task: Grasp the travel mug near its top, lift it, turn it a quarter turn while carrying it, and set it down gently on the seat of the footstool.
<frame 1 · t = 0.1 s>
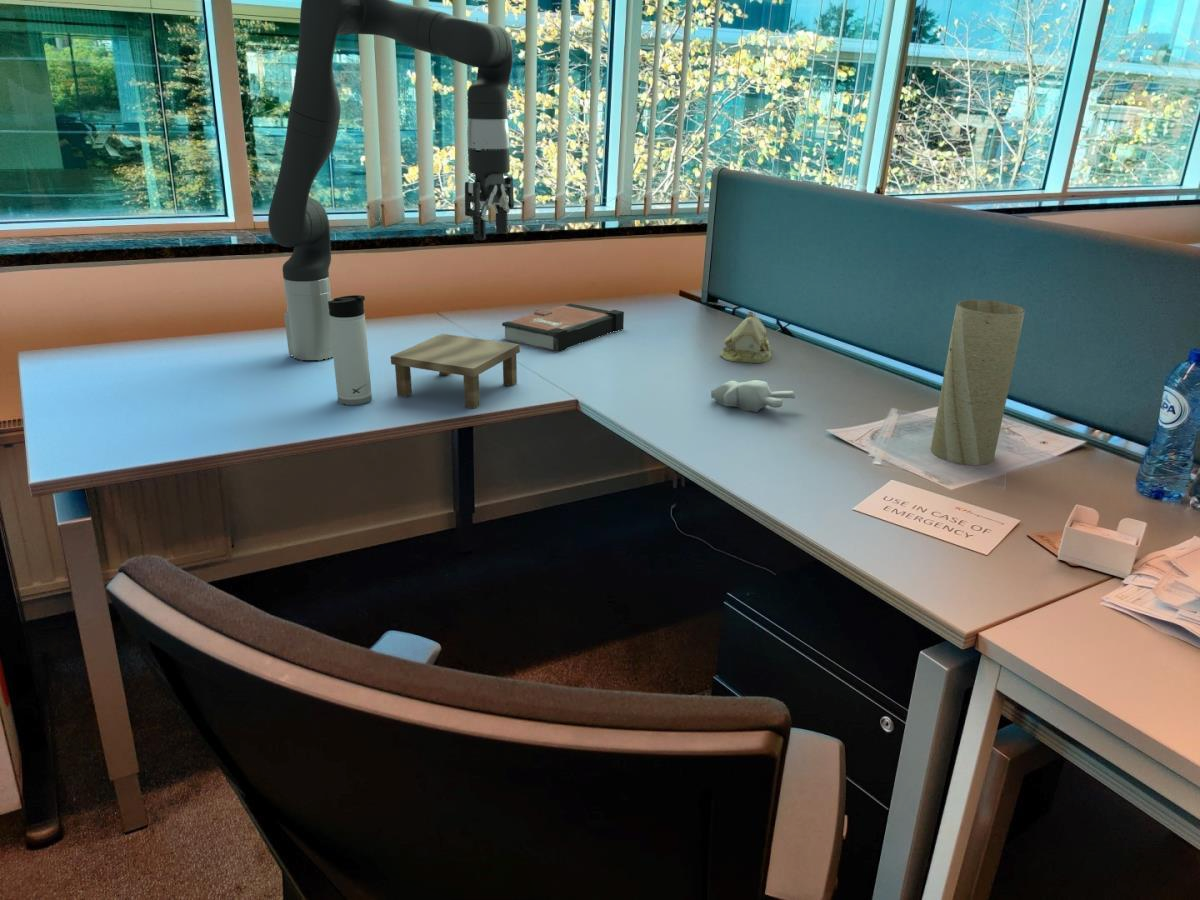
hand: (491, 236, 164), 29 cm above the table, tool pointing down, fingers open, 8 cm apart
tube: (961, 454, 146), on the table
footstool: (458, 389, 172), on the table
ceramic model: (746, 355, 199), on the table
travel mug: (356, 401, 165), on the table
book: (563, 336, 212), on the table
bunny figurine: (749, 408, 165), on the table
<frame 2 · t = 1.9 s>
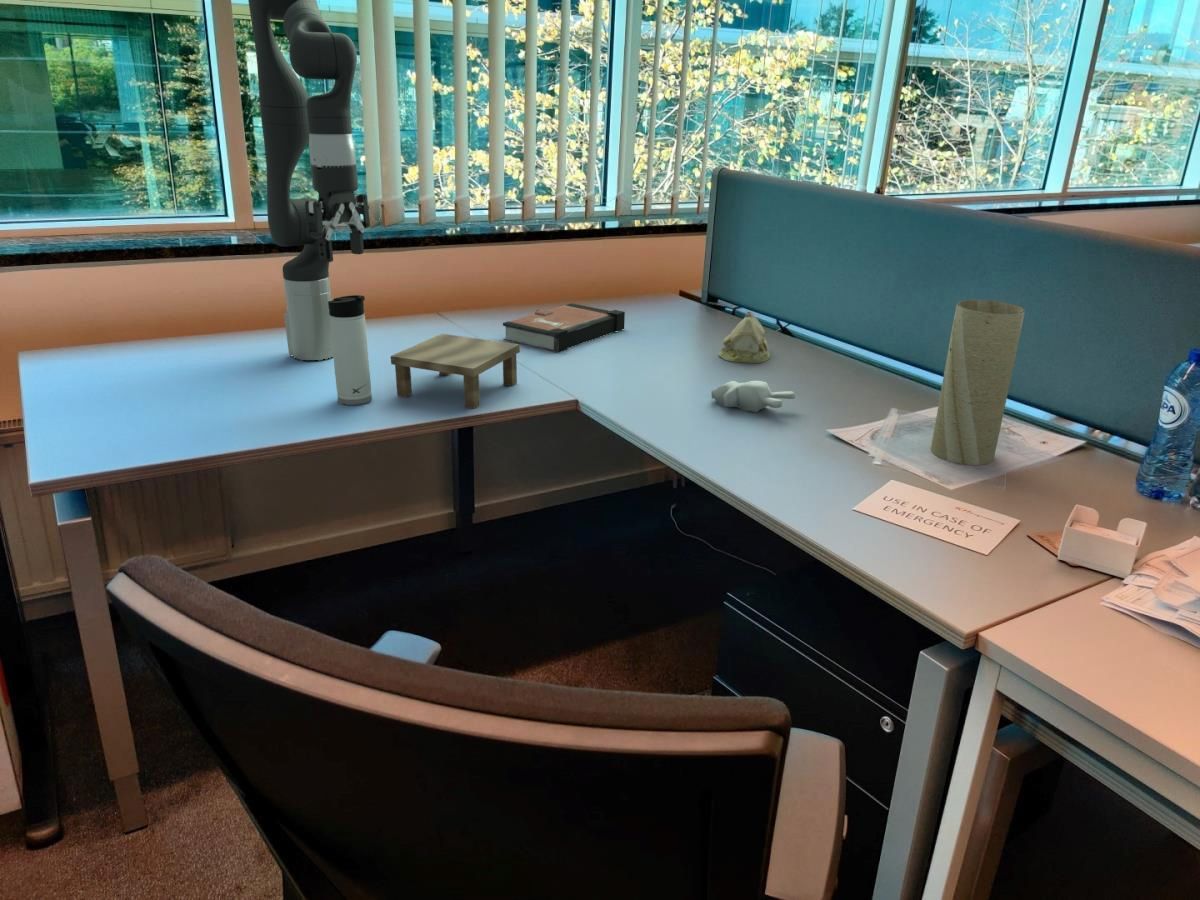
hand: (342, 257, 154), 27 cm above the table, tool pointing down, fingers open, 8 cm apart
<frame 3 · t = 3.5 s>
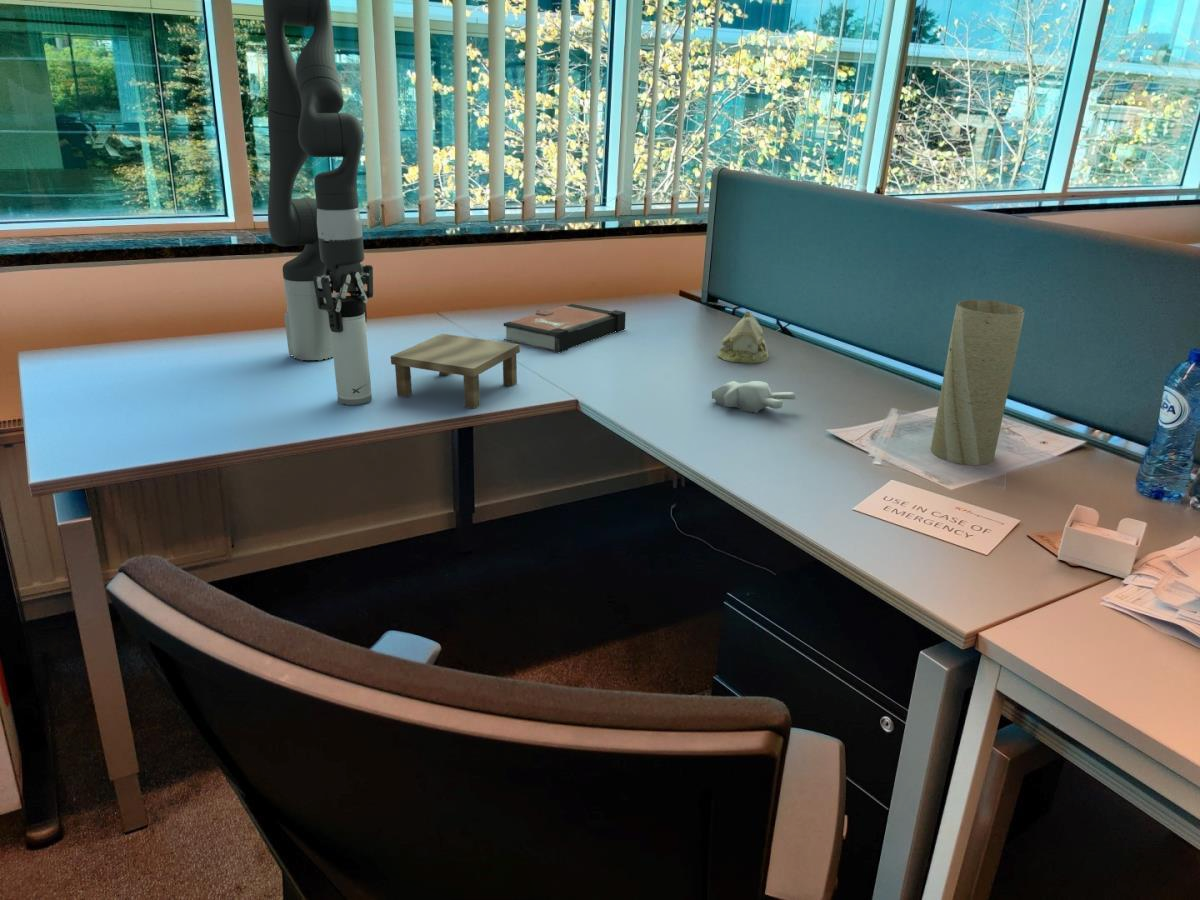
hand: (349, 327, 159), 14 cm above the table, tool pointing down, fingers closed on travel mug, 6 cm apart
travel mug: (355, 401, 165), on the table, touching gripper
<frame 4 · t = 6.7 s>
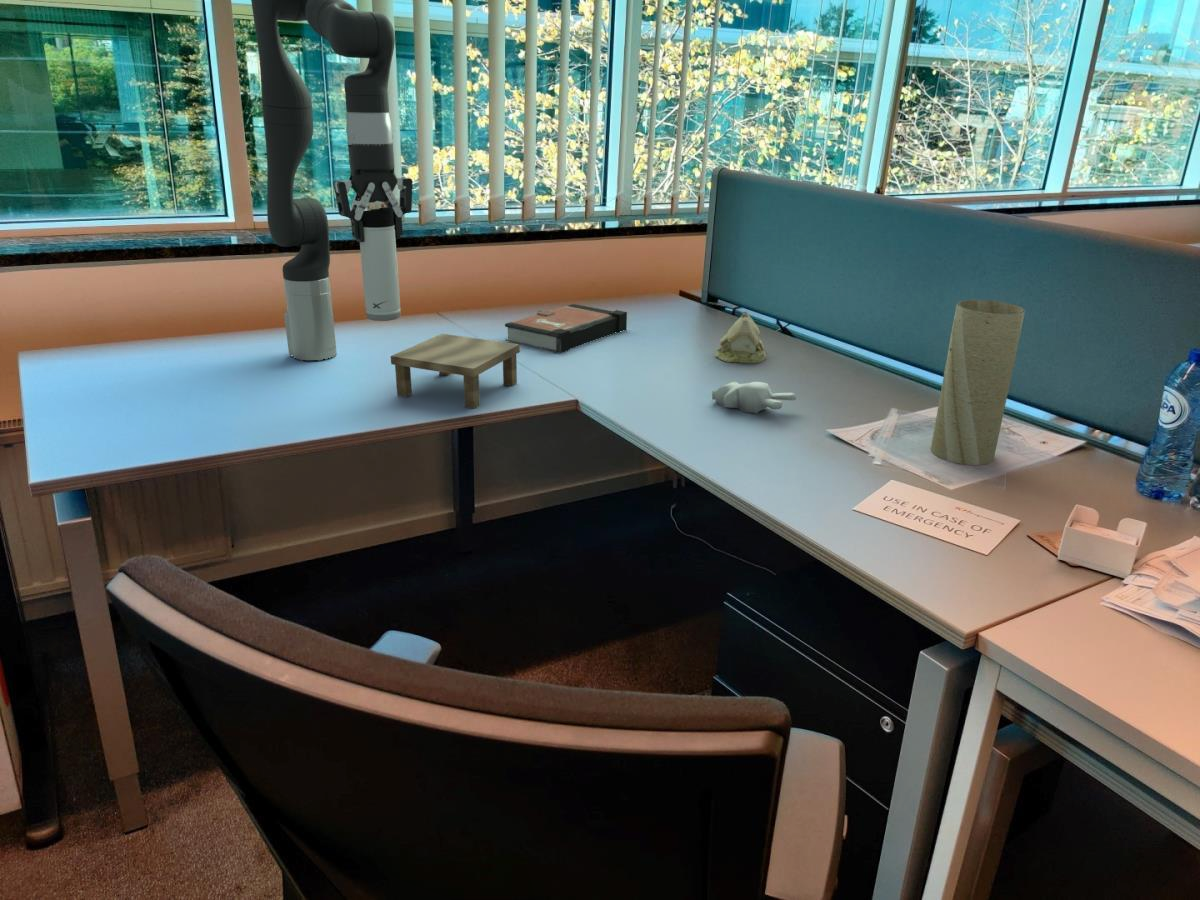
hand: (378, 239, 155), 30 cm above the table, tool pointing down, fingers closed on travel mug, 6 cm apart
travel mug: (384, 318, 161), point 15 cm above the table, touching gripper
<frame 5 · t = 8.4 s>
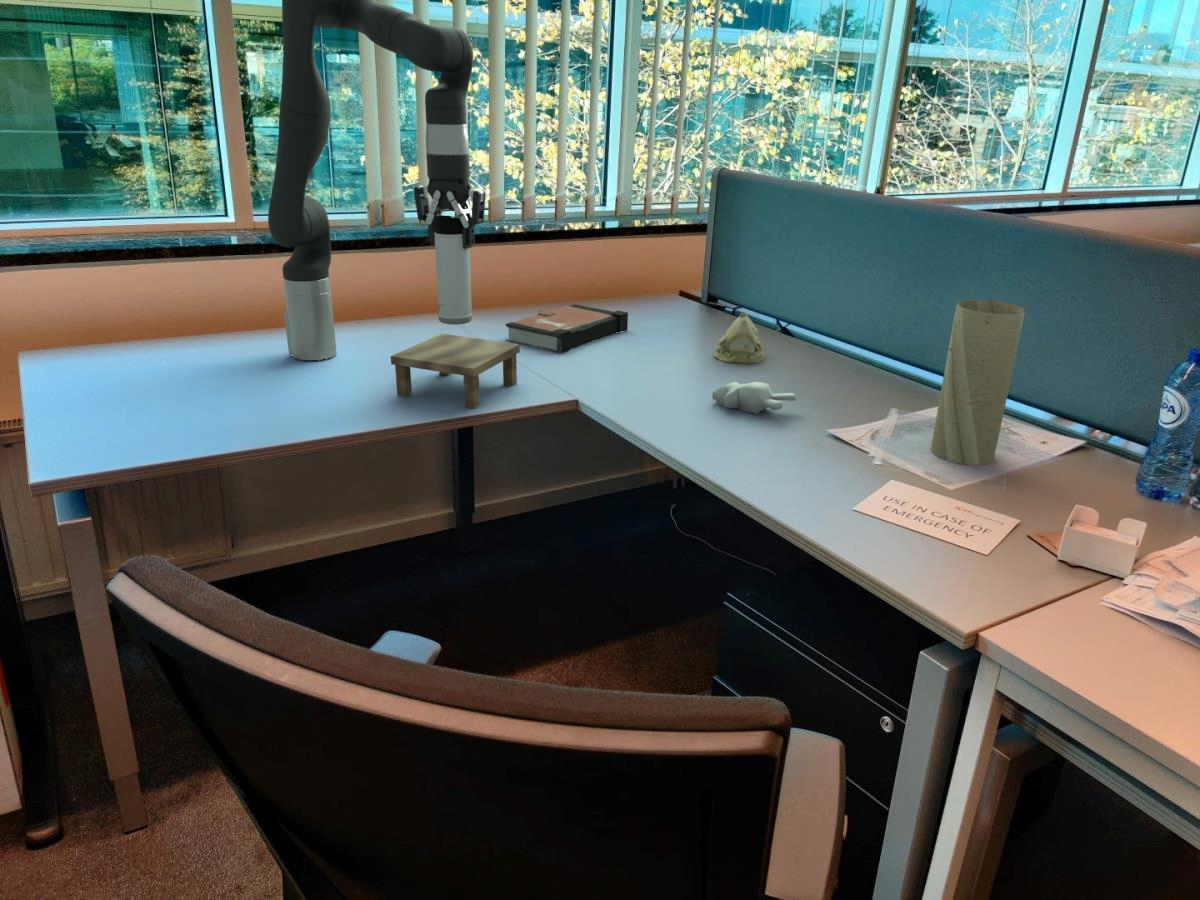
hand: (451, 246, 161), 28 cm above the table, tool pointing down, fingers closed on travel mug, 6 cm apart
travel mug: (455, 321, 167), point 14 cm above the table, touching gripper
when the fingers open (23 cm above the table, at t = 9.8 s): travel mug drops 1 cm, resting on footstool.
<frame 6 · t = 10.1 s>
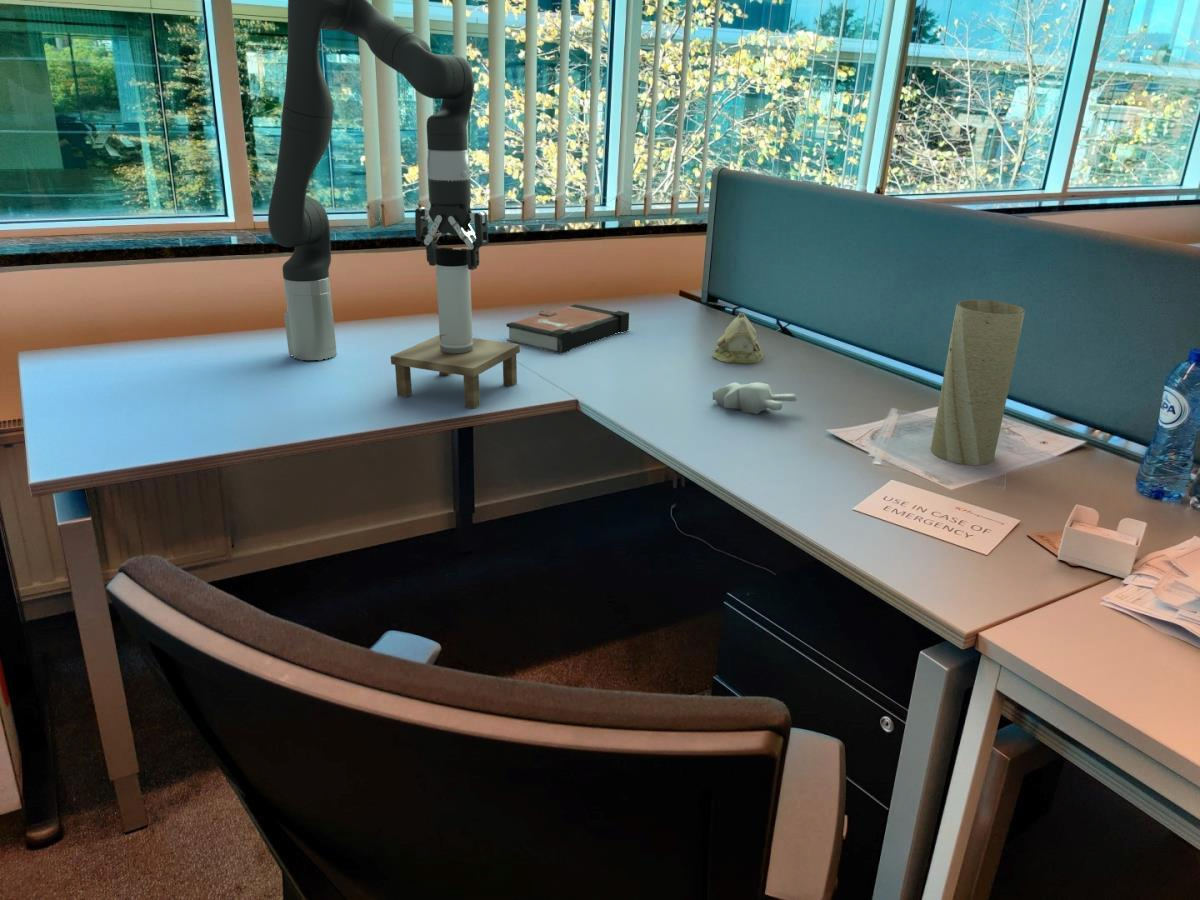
hand: (453, 267, 162), 24 cm above the table, tool pointing down, fingers open, 8 cm apart
footstool: (458, 389, 172), on the table, touching travel mug
travel mug: (456, 350, 169), point 8 cm above the table, touching footstool
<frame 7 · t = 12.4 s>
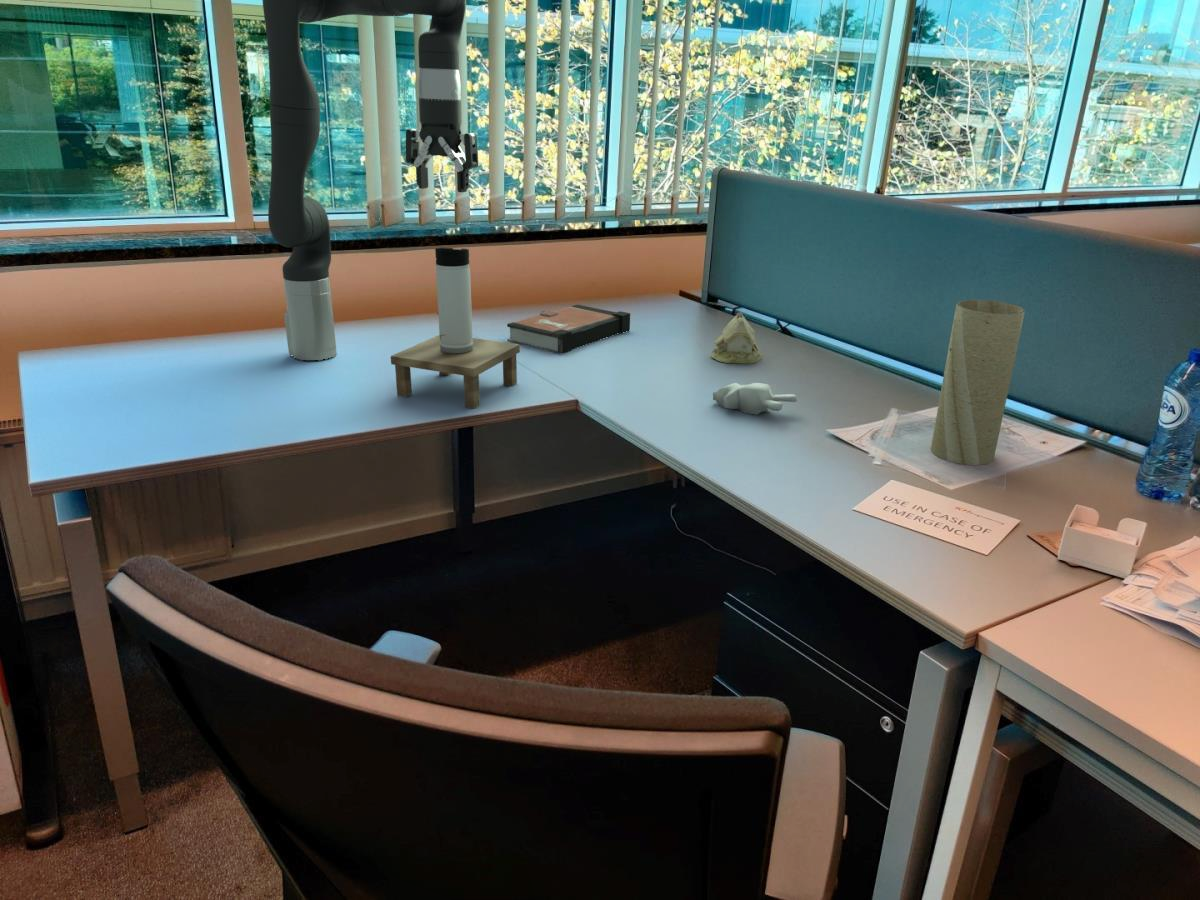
hand: (442, 190, 162), 37 cm above the table, tool pointing down, fingers open, 8 cm apart
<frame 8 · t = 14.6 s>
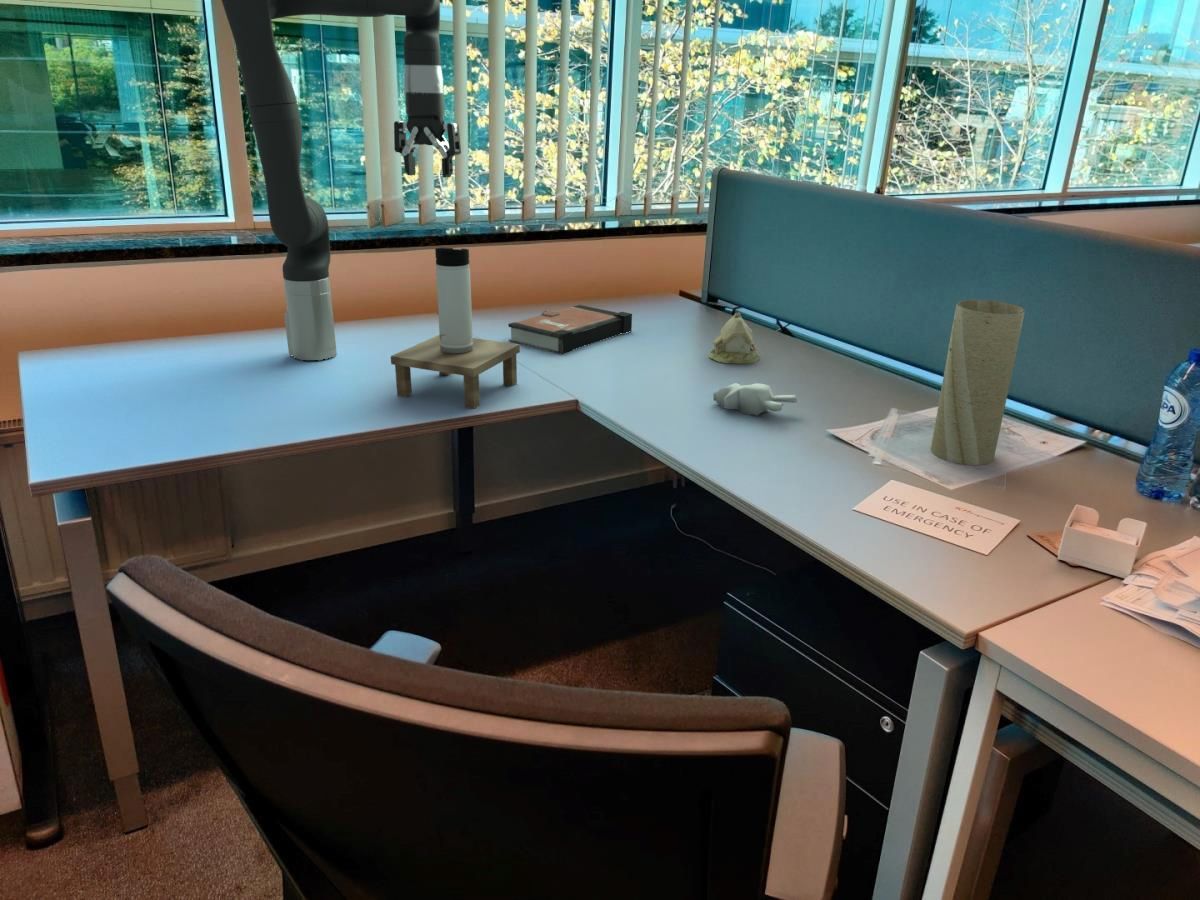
hand: (428, 176, 178), 38 cm above the table, tool pointing down, fingers open, 8 cm apart
at the end: travel mug inside the target area on the footstool (0.1 cm from its centre), point 7.8 cm above the footstool's base; travel mug tilted 0°; footstool moved 0.0 cm from its start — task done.
